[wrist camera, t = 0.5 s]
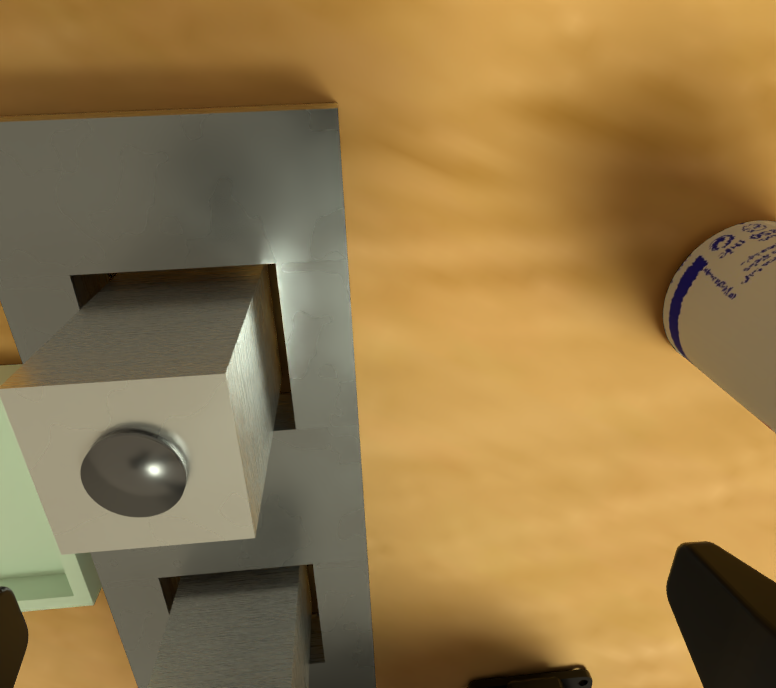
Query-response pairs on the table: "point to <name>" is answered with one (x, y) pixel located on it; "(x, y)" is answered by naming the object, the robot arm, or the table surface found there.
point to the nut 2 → (238, 631)
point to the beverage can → (730, 314)
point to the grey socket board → (199, 250)
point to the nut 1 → (153, 410)
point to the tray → (35, 537)
